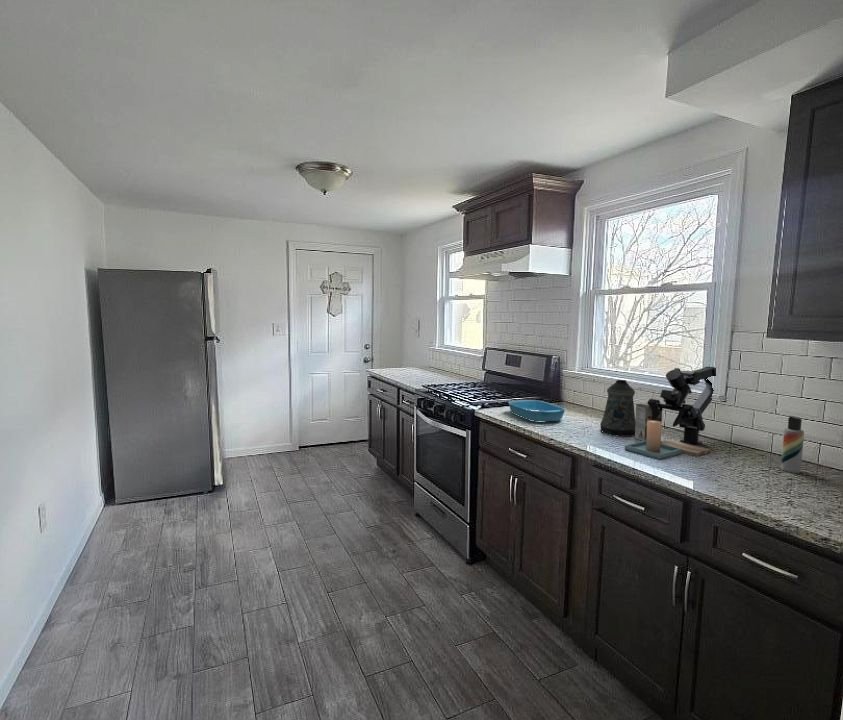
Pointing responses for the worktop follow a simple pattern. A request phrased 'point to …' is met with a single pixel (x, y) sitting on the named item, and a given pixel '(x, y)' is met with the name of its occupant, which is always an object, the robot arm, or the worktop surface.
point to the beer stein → (619, 410)
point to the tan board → (687, 447)
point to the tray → (664, 452)
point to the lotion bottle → (792, 446)
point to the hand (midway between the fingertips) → (662, 423)
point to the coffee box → (643, 420)
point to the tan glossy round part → (653, 436)
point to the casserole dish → (545, 409)
